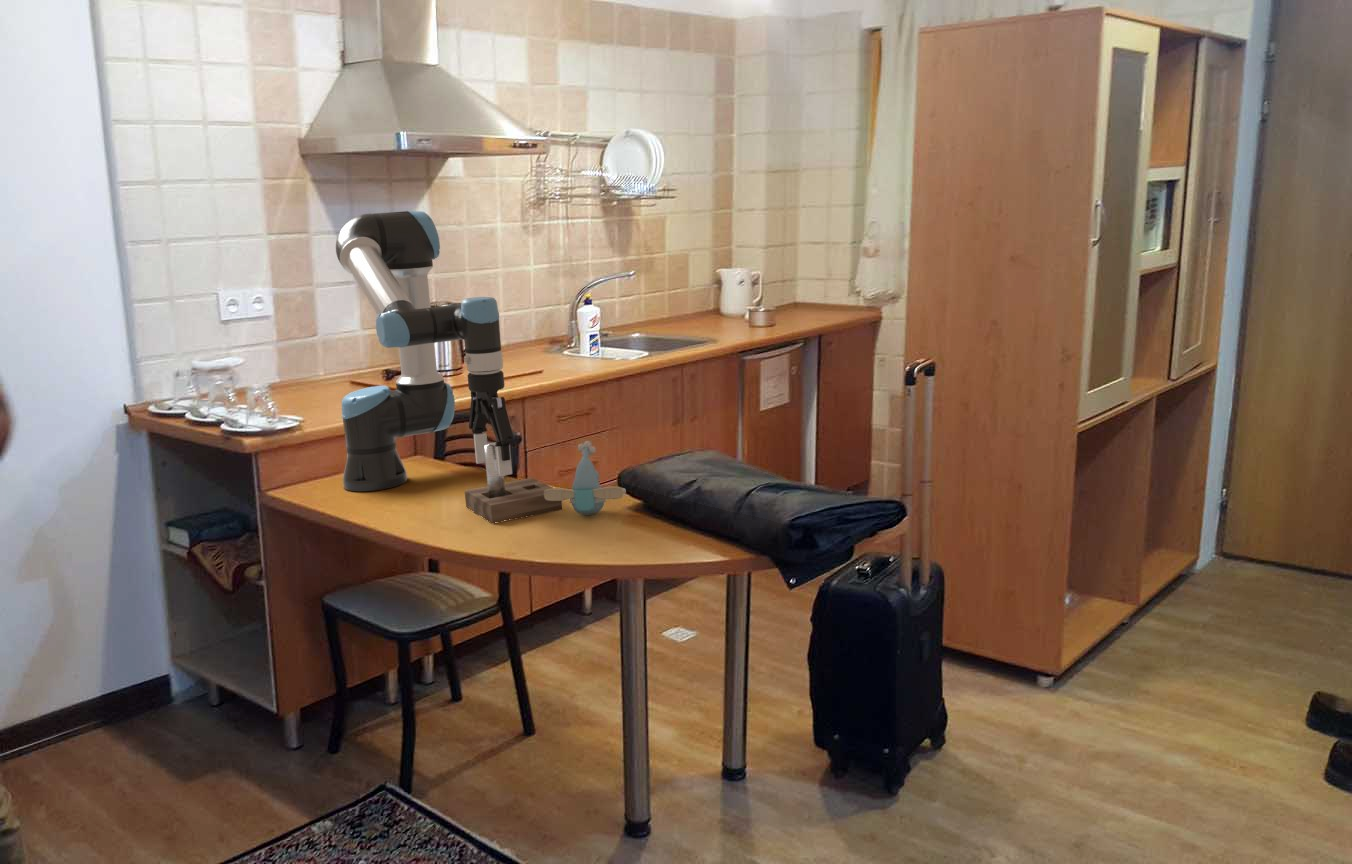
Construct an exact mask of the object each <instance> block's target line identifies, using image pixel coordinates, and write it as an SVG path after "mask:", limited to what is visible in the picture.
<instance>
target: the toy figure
mask: <svg viewBox="0 0 1352 864" xmlns="http://www.w3.org/2000/svg"><path fill="white" fill-rule="evenodd" d="M596 449H597V448H596V447H595V446H594V445H592V442H591V441H589V440H586V441H584V443H580V444H579V443H578V446H577V450H578V451H579V452H581V455H582V457H581V459H580V461H579V462H578V463H577V466H576V468H575V476H574V478H573V483H572V486H571V489H568V488H563V487H552V488H551V489H546V490H545V491H544V498H545V499H546V500H548V501H562V502H563V501H566V500H569V504H571V506H572V508H573V510H574V511H575V512H576V513H578V514H580V515H584V516H588V515H595V514H597V513H598V512H599V511H601V510H602V509H603V507H604V504H605V502H607V500H609V501H610V500H618V499H619V500H620V499H622V498H623V497H624V495H625V494H626V493H627V490H626V488H624V487H621V486H616V485H615V486H611V485H608V486H604V487H602V486H601V484H600V482H599V479H600V473H599V472H598V471H597V470H596V468H595V465H594V463H593V462H592V460H591V459H590V458H589V457H590V456H592V455H593V454H595V453H596V451H597V450H596Z"/></svg>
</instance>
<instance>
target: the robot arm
mask: <svg viewBox="0 0 1352 864" xmlns="http://www.w3.org/2000/svg"><path fill="white" fill-rule="evenodd" d="M440 250H441V245H440V237H439V233H438V230H437V228H436V225H435V223H434V221H433V219H432V218H431V216H430V215H429V214H427V213H426V212H425V211H420V210H405V211H403V210H402V211H393V212H392V211H390V212H377V213H375V212H374V213H371V212H369V213H363V214H359V215H357V216H354V217H353V218H351V219H349V220H348V221H347V222H346V223H345V224H344V225H343V226H342V228H341V229H340V231H339V232H338V235H337V237H336V242H335V254H336V257H337V260H338V262H339V263H340V265H341V266H342V268H343V269H344V270H345V271H346V272H347V273H349V274H351V275H352V276H353V278H354V279H355V280H356V282H357V284H358V286H359V287H360V289H361V290H362V292H363V295H365V296H366V298H367V300H368V301H369V303H370V305H371V306H372V308H373V310H374V311H375V313H376V315H377V317H376V320H375V329H376V330H375V331H376V335H377V337H378V342H379V343H380V345H381V346H383V347H384V348H388V349H391V348H398V355H399V363H400V372H401V373H400V376H399V377H398V378H397V379H396V381H395V386H396V387H395V388H396V389H394V390H391V389H390V387H389V386H387V385H376V386H370V387H369V386H368V387H365V388H361V389H357V390H354V391H352V392H349V393H348V394H345V396H343V398H342V400H341V419H342V423H343V431H344V440H345V446H346V462H345V467H344V471H343V476H342V485H343V489H344V490H346V491H352V492H371V491H374V492H375V491H380V490H385V489H386V490H387V489H391V488H395V487H399V486H401V485H404V484H405V483H406V482H407V481H408V475H407V473H408V472H407V469H406V468H405V465H404V463H403V461H402V459H401V457H400V455H399V453H398V450H397V443H396V439H398V438H404V437H410V436H415V435H423V434H428V433H429V434H433V433H435V432H438V431H444V430H446V429H447V428H449V427H450V426H451V425H452V422H453V420H454V418H455V408H456V407H455V406H456V405H455V404H456V403H455V395H454V391H453V388H452V386H451V385H450V384H449V383H447V382H445V378H444V376H443V375H441V374H440V373H439V371H438V370H437V361H436V360H437V359H436V348H435V343H443V342H451V341H452V342H453V341H459V340H461V341H462V340H463V343H464V352H465V358H464V359H463V361H464V363H466V370H467V371H468V374H467V384H468V385H467V386H468V390H469V391H470V409H469V410H470V411H469V419H468V420H469V422H468V428H469V430H471V433H472V434H473V442H474V454H475V455H474V456H475V463H476V465H477V464H483V463H485V454H484V444H487V443H488V435H487V434H488V433H487V431H488V429H487V422H488V420H489V423H490V425H491V427H492V431H493V433H494V436H495V439H496V441H495V442H496V444H495V446H496V448H497V459H498V470H499V476H508V475H509V476H510V475H513V466H512V454H511V444H513V443H515V438H514V434H513V431H512V430H513V429H512V427H511V423H510V419H509V415H508V411H507V406H506V399H505V397H504V396H501V397H500V396H499V394H498V391H500V390H503V389H504V388H505V376H504V372H503V370H502V369H503V368H504V363H503V361H504V360H503V350H502V343H501V341H502V340H501V332H500V331H501V330H500V313H499V307H498V302H497V300H496V298H494V297H492V296H476V297H474V296H473V297H467V298H464V299H463V300H462V301H461V302H458V303H454V302H453V303H450V304H448V305H444V306H434V307H433V306H431V299H430V288H429V278H428V275H429V273H430V272H431V270H432V269H433V268H434V263H433V260H436V259H438V257H440V252H441V251H440Z"/></svg>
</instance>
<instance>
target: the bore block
mask: <svg viewBox="0 0 1352 864" xmlns="http://www.w3.org/2000/svg"><path fill="white" fill-rule="evenodd" d="M504 485H505V495H506V496H501V497H496V498H491V499H489V495H488V485H486V486H481V487H475V488H469V489H465V490H464V498H465V508H466V507H467V508H468V509H467V508H466V509H467V510H469V509H470V510H469V511H471V510H472V511H474V512H475V513H477V514H478V515H477V514H476V515H477V516H479V515H480V516H482V517H483V518H482V517H481V518H482V519H484V518H485V519H486V521H487V520H488V521H487V522H489V521H490V522H491V523H490V522H489V523H490V524H492V523H494V524H496V523H495V522H499V523H502V522H501V521H504V520H509V519H514V520H516V519H515V518H519V519H522V518H521V517H524V518H527V517H526V516H528V517H532V516H531V515H533V516H537V515H542V514H546V513H547V514H548V513H553V512H558V511H562V510H563V500H562V501H548V500H546V499H545V498H544V491H545V490H546V489H551V488H553V486H550V485H549V484H547V483H544V482H542V481H539V480H538V479H536V478H534V477H529V478H523V479H517V480H512V481H507V482H504ZM472 511H471V512H472ZM474 512H473V513H474ZM475 513H474V514H475ZM480 516H479V517H480ZM485 519H484V520H485ZM509 521H510V520H509ZM504 522H505V521H504Z"/></svg>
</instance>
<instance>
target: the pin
mask: <svg viewBox="0 0 1352 864" xmlns="http://www.w3.org/2000/svg"><path fill="white" fill-rule="evenodd" d="M496 442H497V441H495V442H493V441H492V442H487V444H484V454H485V470H486V483H487V486H488V495H489V499H491V498H496V497H501V496H506V495H505V485H504V483H505V477H504V476H499V470H498V459H497V448H496V446H495V444H496Z"/></svg>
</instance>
